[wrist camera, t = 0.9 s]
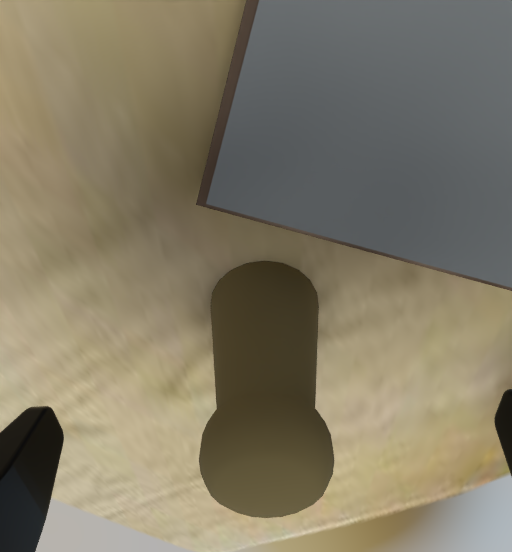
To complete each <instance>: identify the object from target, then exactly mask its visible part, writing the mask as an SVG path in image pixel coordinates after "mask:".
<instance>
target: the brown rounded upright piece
mask: <svg viewBox="0 0 512 552" xmlns="http://www.w3.org/2000/svg"><path fill="white" fill-rule="evenodd" d="M318 308H319V306H318V297H317V292H316V290H315V288H314V286H313V285H312V283H311V281H310V280H309V279H308V278H307V277H306V276H305V275H303V274H302V273H301V272H300V271H299V270H297V269H295V268H292V267H290V266H288V265H285V264H283V263H277V262H269V261H261V262H253V263H247V264H244V265H242V266H240V267H237V268H235V269H233V270H231V271H230V272H228V273H227V274H226V275H225V276H224V277H223V278H222V279H220V280H219V282H218V284H217V285H216V287H215V289H214V291H213V293H212V299H211V320H212V337H213V354H214V370H215V387H216V404H217V410H216V411H215V412H214V414H213V415H212V417H211V418H210V420H209V421H208V423H207V425H206V427H205V430H204V432H203V434H202V441H201V448H200V456H199V464H200V471H201V475H202V478H203V480H204V482H205V485H206V487H207V489H208V490H209V492H210V494H211V496H212V497H213V498H214V499H215V500H216V501H217V502H219V503H220V504H221V505H223V506H225V507H227V508H229V509H231V510H233V511H235V512H237V513H240V514H244V515H247V516H251V517H262V518H272V517H283V516H286V515H290V514H294V513H297V512H299V511H301V510H303V509H305V508H307V507H309V506H311V505H313V504H314V503H315V502H316V501H317V500H319V499H320V498H321V497H322V496H323V494H324V492H325V490H326V488H327V486H328V484H329V481H330V479H331V477H332V474H333V467H334V454H333V446H332V440H331V434H330V432H329V430H328V428H327V426H326V423H325V421H324V420H323V419H322V417H321V416H320V414H319V413H318V411H317V410H316V409H315V395H316V366H317V337H318Z"/></svg>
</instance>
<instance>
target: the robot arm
mask: <svg viewBox="0 0 512 552" xmlns="http://www.w3.org/2000/svg"><path fill="white" fill-rule="evenodd" d="M495 427H496V431H497V434H498V437H499V440H500V443H501V446H502V449H503V452H504V455H505V458H506V461H507V464H508V467H509V470H510V473H511V476H512V389H509V390H506V391H505V392H504V394H503V396H502V399H501V401H500V404H499V407H498V409H497V412H496V414H495ZM63 441H64V435H63V430H62V428H61V426H60V424H59V422H58V420H57V417H56V415H55V413H54V411H53V409H52V408H50V407H48V406H41V407H30V408H28V409H26V410H25V411H24V412H23V413H22V414H20V415H19V416H18V417H17V418H16V419H15V420H14V421H13V422H12V423H10V424H9V425H8V426H7V427H6V428H5V429H4V430H3V431H2V432H0V552H35V551H36V547H37V544H38V542H39V539H40V535H41V532H42V530H43V526H44V523H45V520H46V516H47V512H48V508H49V504H50V500H51V495H52V491H53V486H54V482H55V478H56V473H57V469H58V464H59V460H60V455H61V451H62V446H63Z"/></svg>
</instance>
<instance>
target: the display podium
mask: <svg viewBox="0 0 512 552" xmlns="http://www.w3.org/2000/svg"><path fill="white" fill-rule="evenodd" d="M196 205H199V206H203V207H207V208H210V209H214V210H218V211H221V212H225V213H229V214H232V215H236V216H240V217H243V218H247V219H251V220H254V221H258V222H262V223H265V224H269V225H273V226H276V227H280V228H284V229H287V230H291V231H295V232H298V233H302V234H306V235H309V236H313V237H317V238H320V239H324V240H328V241H331V242H335V243H339V244H342V245H346V246H349V247H353V248H357V249H360V250H364V251H368V252H371V253H375V254H379V255H382V256H386V257H390V258H393V259H397V260H401V261H404V262H408V263H412V264H415V265H419V266H423V267H426V268H430V269H434V270H437V271H441V272H445V273H448V274H452V275H456V276H459V277H463V278H467V279H470V280H474V281H478V282H481V283H485V284H489V285H492V286H496V287H500V288H503V289H507V290H511V291H512V0H247V1H246V5H245V9H244V13H243V17H242V21H241V25H240V29H239V33H238V37H237V41H236V45H235V49H234V53H233V57H232V61H231V65H230V70H229V74H228V78H227V82H226V86H225V90H224V94H223V98H222V102H221V106H220V110H219V114H218V118H217V122H216V126H215V130H214V134H213V138H212V142H211V146H210V150H209V155H208V159H207V163H206V167H205V171H204V175H203V179H202V183H201V187H200V191H199V195H198V199H197V203H196Z"/></svg>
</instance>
